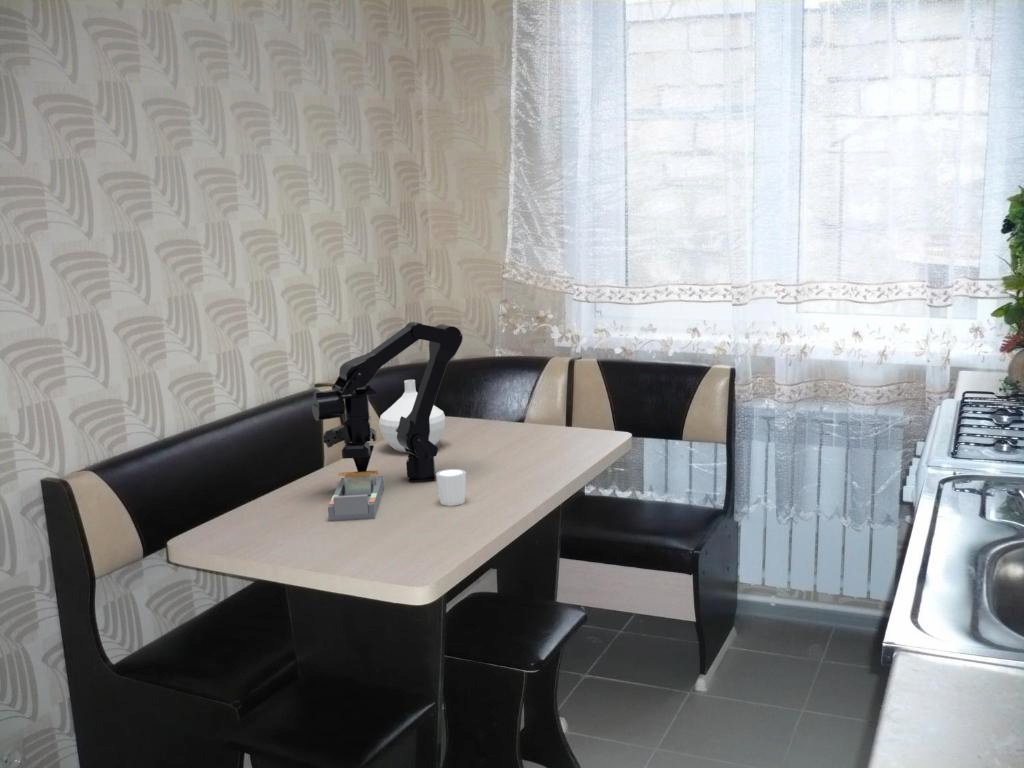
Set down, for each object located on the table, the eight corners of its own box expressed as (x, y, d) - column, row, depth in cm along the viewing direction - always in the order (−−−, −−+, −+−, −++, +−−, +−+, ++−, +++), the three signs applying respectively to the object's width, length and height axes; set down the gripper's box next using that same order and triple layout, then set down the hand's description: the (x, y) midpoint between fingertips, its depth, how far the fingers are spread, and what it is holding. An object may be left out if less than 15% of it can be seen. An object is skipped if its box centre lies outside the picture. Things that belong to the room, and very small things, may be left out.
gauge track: (384, 488, 256) (382, 467, 255) (374, 518, 233) (372, 495, 232) (342, 490, 256) (340, 470, 255) (329, 520, 233) (327, 498, 232)
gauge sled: (380, 488, 251) (378, 468, 250) (378, 494, 246) (376, 473, 245) (341, 490, 251) (339, 470, 250) (338, 496, 246) (336, 476, 245)
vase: (460, 443, 296) (456, 376, 292) (420, 459, 281) (415, 389, 277) (408, 437, 306) (403, 372, 302) (367, 453, 291) (362, 384, 287)
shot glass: (472, 498, 245) (470, 469, 243) (461, 507, 238) (459, 477, 237) (444, 496, 247) (442, 467, 246) (433, 505, 241) (431, 476, 239)
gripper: (329, 408, 262) (334, 468, 264) (317, 425, 243) (323, 490, 246) (374, 405, 262) (378, 466, 265) (365, 422, 243) (371, 487, 246)
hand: (362, 477), depth 255 cm, fingers closed
